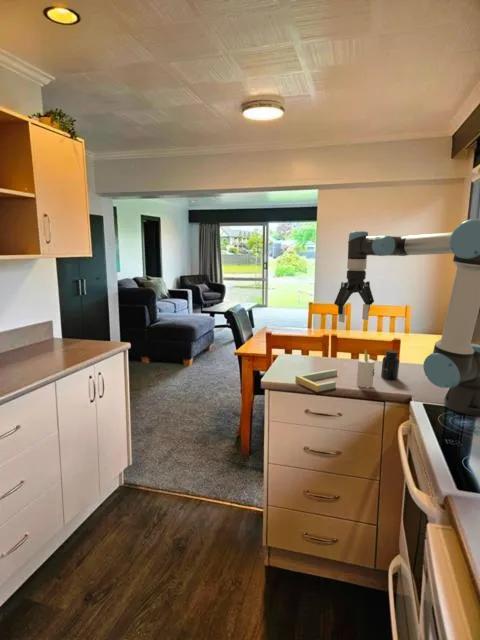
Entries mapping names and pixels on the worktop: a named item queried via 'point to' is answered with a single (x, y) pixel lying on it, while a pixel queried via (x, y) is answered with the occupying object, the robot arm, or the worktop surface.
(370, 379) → the candle
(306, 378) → the rail
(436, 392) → the worktop surface
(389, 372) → the supplement bottle
